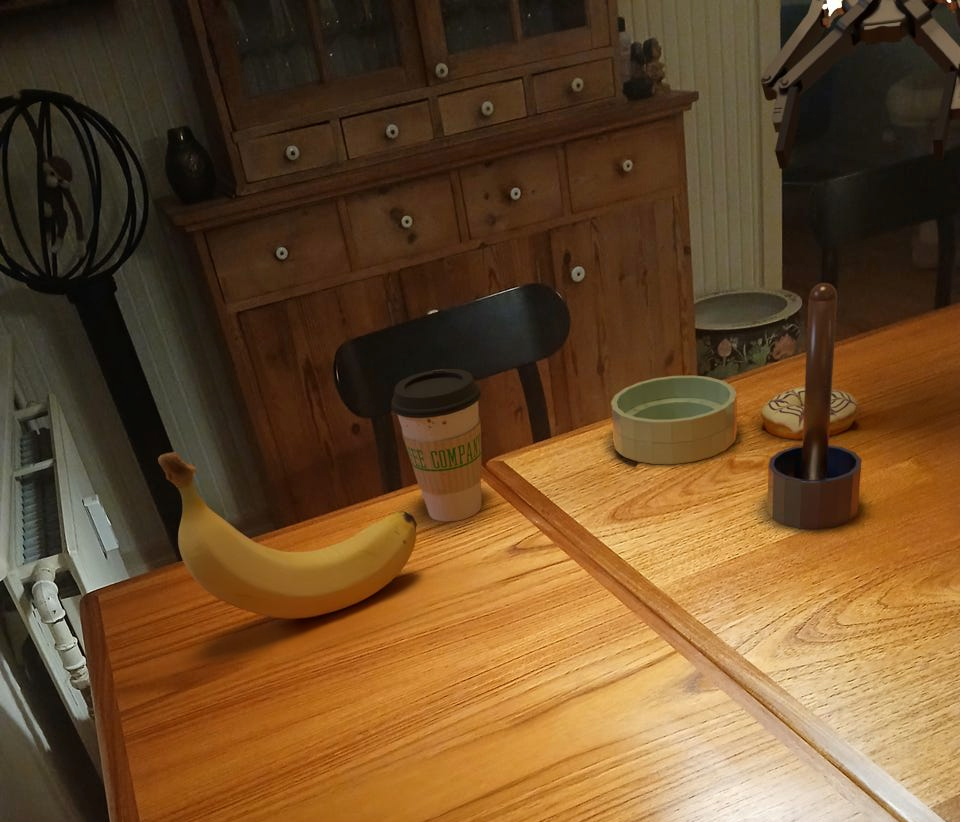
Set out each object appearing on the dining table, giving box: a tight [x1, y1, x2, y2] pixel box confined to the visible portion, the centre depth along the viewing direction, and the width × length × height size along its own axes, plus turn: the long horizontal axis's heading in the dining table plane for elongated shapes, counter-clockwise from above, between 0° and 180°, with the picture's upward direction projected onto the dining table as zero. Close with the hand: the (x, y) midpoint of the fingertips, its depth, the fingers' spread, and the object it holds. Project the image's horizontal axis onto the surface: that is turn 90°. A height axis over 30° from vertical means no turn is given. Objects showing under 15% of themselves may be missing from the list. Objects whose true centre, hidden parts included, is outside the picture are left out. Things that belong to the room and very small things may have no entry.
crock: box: [766, 444, 863, 531], centre depth 98 cm, size 9×9×6 cm
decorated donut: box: [760, 386, 858, 440], centre depth 117 cm, size 10×11×4 cm
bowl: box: [610, 375, 738, 465], centre depth 117 cm, size 14×14×6 cm
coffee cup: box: [390, 368, 483, 523], centre depth 109 cm, size 10×10×15 cm
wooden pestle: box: [801, 282, 838, 480], centre depth 93 cm, size 5×5×22 cm
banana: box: [157, 451, 418, 620], centre depth 93 cm, size 23×6×20 cm, turn 117°
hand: (856, 155), depth 89 cm, fingers open, 13 cm apart
